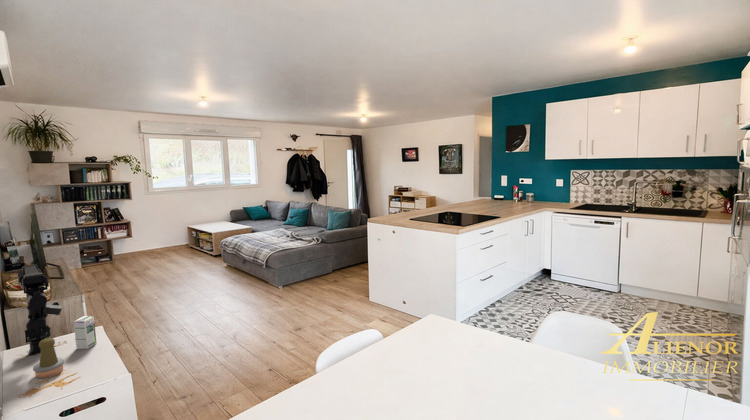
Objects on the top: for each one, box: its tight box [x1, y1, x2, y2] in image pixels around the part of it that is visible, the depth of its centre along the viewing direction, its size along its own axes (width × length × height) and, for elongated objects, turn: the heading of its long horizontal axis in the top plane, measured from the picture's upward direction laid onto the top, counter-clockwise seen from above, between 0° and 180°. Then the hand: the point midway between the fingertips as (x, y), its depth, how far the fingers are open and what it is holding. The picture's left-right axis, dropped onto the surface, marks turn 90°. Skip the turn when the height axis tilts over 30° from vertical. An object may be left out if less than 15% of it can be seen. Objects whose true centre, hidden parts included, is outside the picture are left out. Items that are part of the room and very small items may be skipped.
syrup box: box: [73, 315, 97, 350], centre depth 180 cm, size 6×6×14 cm
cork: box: [39, 337, 58, 368], centre depth 157 cm, size 6×6×11 cm
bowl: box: [34, 363, 64, 379], centre depth 157 cm, size 9×9×3 cm
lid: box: [32, 357, 65, 373], centre depth 157 cm, size 10×10×1 cm
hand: (39, 335), depth 164 cm, fingers open, 9 cm apart
